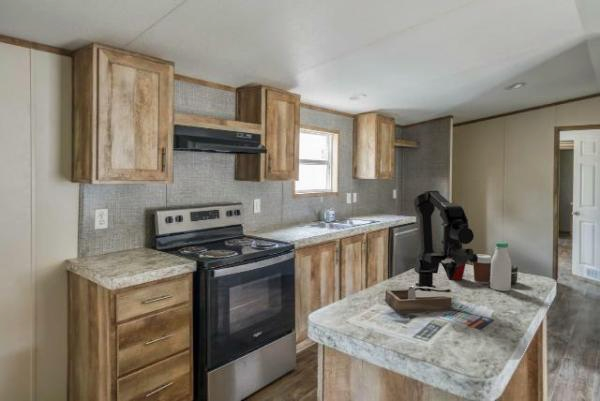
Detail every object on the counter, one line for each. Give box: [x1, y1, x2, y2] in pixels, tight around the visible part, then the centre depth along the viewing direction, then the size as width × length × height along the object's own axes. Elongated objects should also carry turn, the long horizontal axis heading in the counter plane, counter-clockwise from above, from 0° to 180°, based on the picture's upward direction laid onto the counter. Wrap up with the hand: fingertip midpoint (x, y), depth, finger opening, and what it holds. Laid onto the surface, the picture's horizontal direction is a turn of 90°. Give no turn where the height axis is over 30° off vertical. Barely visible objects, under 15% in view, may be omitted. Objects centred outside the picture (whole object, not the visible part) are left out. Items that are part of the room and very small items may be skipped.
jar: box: [511, 264, 519, 286], centre depth 170 cm, size 10×10×8 cm
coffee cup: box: [472, 253, 492, 285], centre depth 170 cm, size 9×9×12 cm
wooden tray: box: [384, 288, 453, 315], centre depth 140 cm, size 14×20×4 cm
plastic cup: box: [448, 257, 467, 281], centre depth 175 cm, size 11×11×12 cm
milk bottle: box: [489, 241, 512, 292], centre depth 159 cm, size 8×8×20 cm
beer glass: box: [407, 285, 454, 304], centre depth 139 cm, size 7×7×15 cm
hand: (450, 280), depth 141 cm, fingers closed
